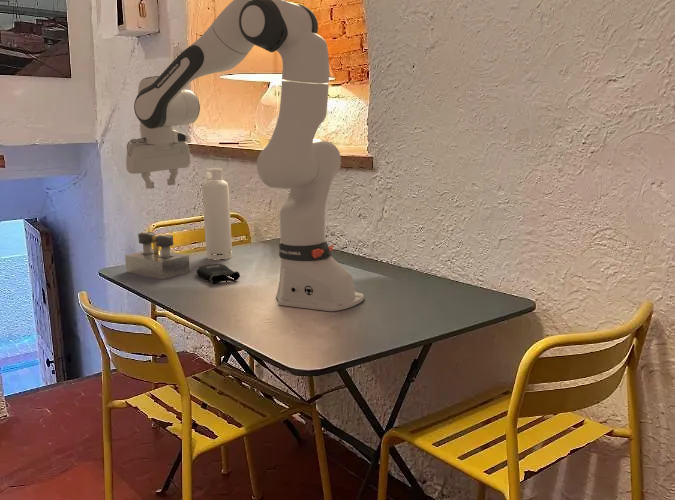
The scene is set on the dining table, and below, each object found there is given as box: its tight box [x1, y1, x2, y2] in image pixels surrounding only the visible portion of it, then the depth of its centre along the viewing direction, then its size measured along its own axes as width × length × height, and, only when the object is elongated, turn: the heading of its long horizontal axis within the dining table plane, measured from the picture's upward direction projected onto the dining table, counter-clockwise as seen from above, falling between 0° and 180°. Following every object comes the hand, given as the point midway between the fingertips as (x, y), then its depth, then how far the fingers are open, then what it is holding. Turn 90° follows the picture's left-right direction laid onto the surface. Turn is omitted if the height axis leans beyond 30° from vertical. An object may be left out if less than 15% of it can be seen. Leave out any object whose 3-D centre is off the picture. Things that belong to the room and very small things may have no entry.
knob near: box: [156, 234, 175, 259], centre depth 198 cm, size 5×5×7 cm
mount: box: [125, 248, 191, 280], centre depth 201 cm, size 16×10×5 cm, turn 54°
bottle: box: [201, 167, 233, 261], centre depth 216 cm, size 8×8×28 cm
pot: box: [152, 235, 160, 255], centre depth 200 cm, size 2×2×5 cm
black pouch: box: [196, 263, 241, 284], centre depth 194 cm, size 9×6×15 cm
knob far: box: [137, 231, 156, 255], centre depth 202 cm, size 5×5×7 cm
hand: (161, 186), depth 194 cm, fingers open, 6 cm apart
